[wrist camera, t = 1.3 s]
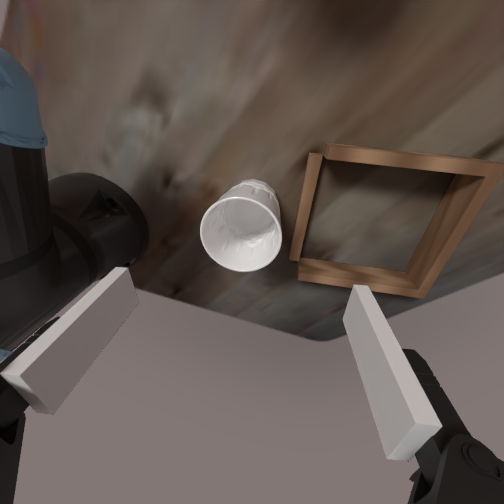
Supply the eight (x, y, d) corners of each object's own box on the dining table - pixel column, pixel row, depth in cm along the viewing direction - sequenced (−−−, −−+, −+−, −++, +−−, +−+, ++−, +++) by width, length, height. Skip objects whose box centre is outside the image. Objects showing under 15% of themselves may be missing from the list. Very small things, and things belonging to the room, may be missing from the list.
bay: (287, 262, 34) (287, 278, 30) (311, 141, 25) (315, 144, 22) (409, 279, 33) (423, 298, 29) (476, 158, 24) (507, 164, 21)
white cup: (264, 241, 33) (256, 284, 24) (215, 214, 32) (188, 249, 23) (295, 194, 29) (298, 225, 20) (240, 161, 28) (219, 179, 19)
